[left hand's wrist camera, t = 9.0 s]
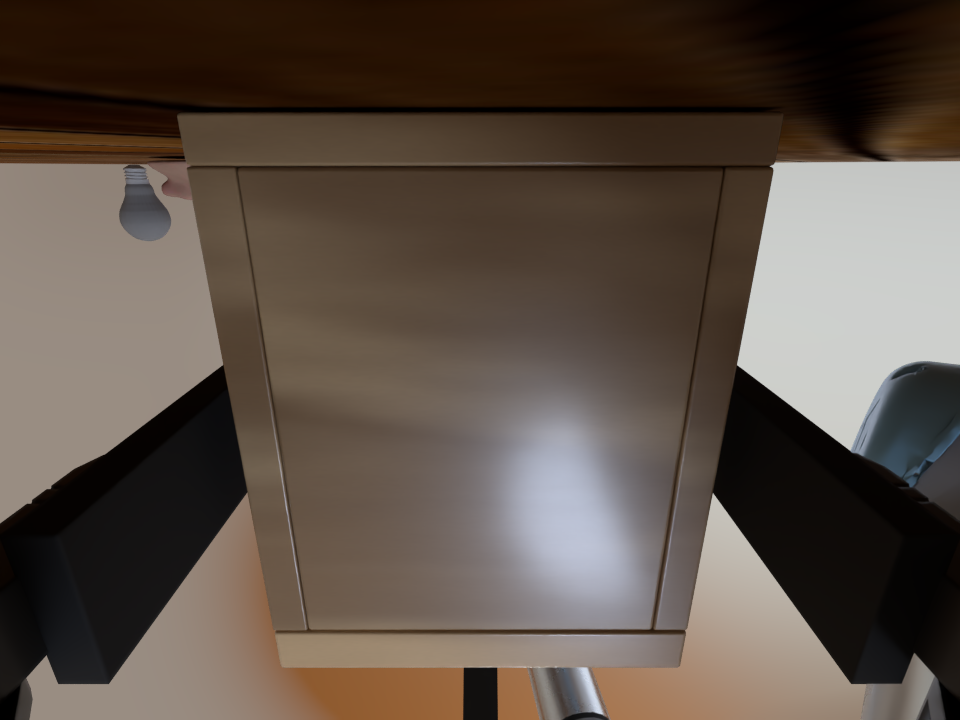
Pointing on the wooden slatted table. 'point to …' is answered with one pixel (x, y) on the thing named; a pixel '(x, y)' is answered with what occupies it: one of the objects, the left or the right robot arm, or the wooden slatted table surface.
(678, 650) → the lid
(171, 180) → the anatomical model
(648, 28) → the wooden slatted table surface
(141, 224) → the light bulb
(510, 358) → the chest
